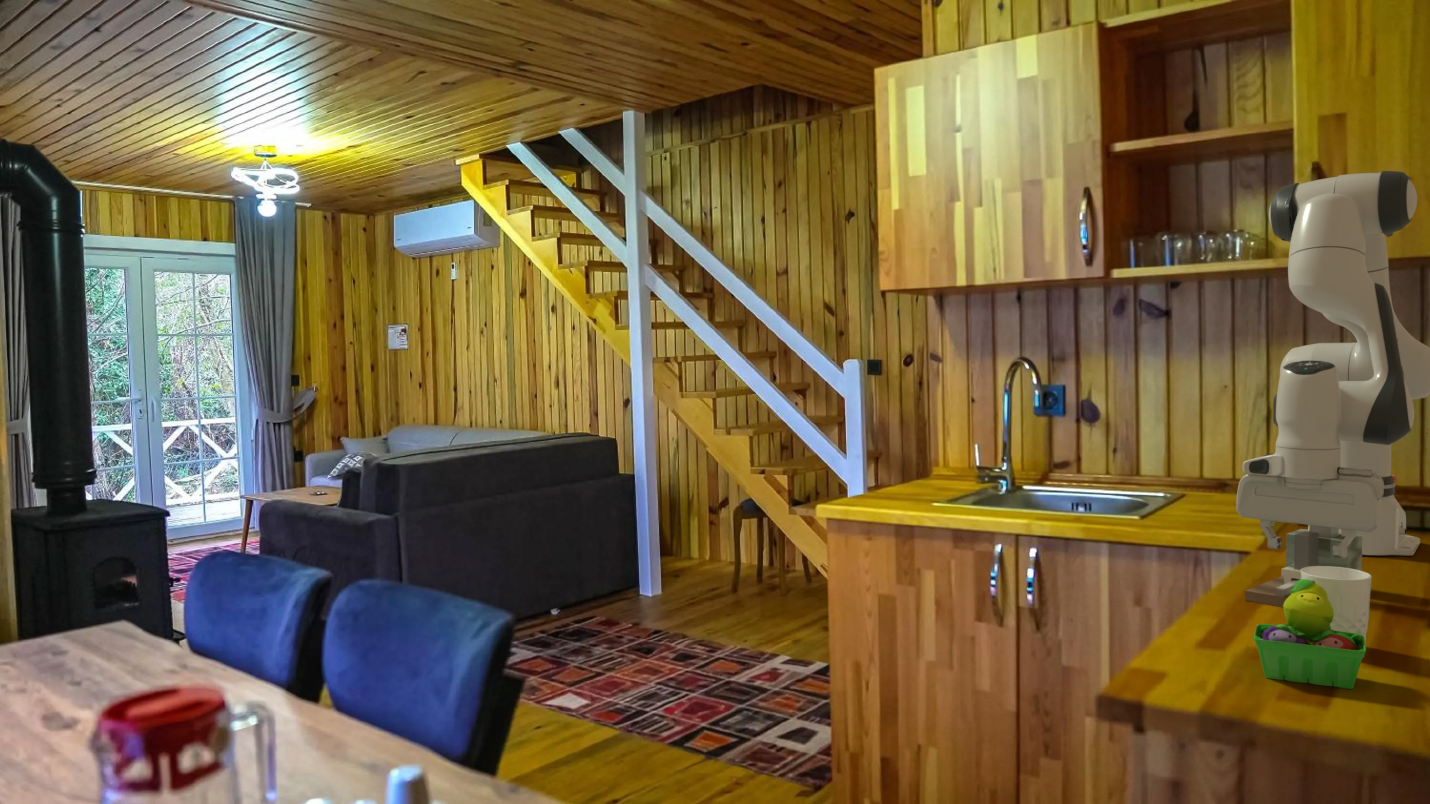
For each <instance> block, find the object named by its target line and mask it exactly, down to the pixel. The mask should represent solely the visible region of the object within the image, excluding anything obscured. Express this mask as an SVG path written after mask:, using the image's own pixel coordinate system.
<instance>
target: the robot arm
mask: <svg viewBox="0 0 1430 804" xmlns="http://www.w3.org/2000/svg"><path fill="white" fill-rule="evenodd" d="M1417 204H1418V193H1417V190H1416V187H1415V185H1414V184H1413V182H1412V179H1411V177H1410V176H1409V175H1407V174H1406V173H1405V172H1403V171H1398V170H1397V171H1396V170H1382V171H1381V172H1366V173H1364V172H1362V173H1361V172H1360V173H1358V172H1357V173H1349V174H1339V175H1338V176H1334V177H1333V176H1332V177H1326V178H1321V179H1317V180H1316V179H1315V180H1310V181H1306V182H1303V183H1299V182H1295V183H1292V184H1287V185H1285V186H1282V187H1280V188H1279V189H1278V190H1277V191H1276V192H1275V193H1274V194H1273V196H1272V198H1271V201H1270V206H1269V208H1268V221H1269V224H1270V226H1271V229H1272V233H1273V234H1274V236H1276V237H1277V238H1279V239H1280V240H1281V241H1284V242H1290V243H1289V248H1288V249H1289V251H1288V260H1287V265H1288V266H1287V276H1288V277H1287V278H1288V287H1289V290H1290V292H1291V293H1292V295H1293V296H1294V297H1295V299H1297V300H1298V301H1299V302H1300V303H1302V304H1303V305H1305V306H1306V307H1308V308H1310V309H1312V310H1314V311H1317V312H1319V313H1321V314H1322V315H1323V317H1325V318H1326V319H1327V321H1329V322H1331V323H1333V324H1335V325H1338V326H1341V327H1344V328H1345V329H1347V330H1348V331H1349V332H1350V333H1352V335H1353V336H1354V338H1355V339H1356V342H1317V343H1312V344H1307V345H1301V346H1297V347H1293V348H1291V349H1290V350H1289V351H1288V352H1287V353H1286V354H1285V356H1284V357H1283V359H1282V361H1281V364H1280V367H1279V379H1278V383H1277V392H1276V394H1275V395H1274V396H1273V404H1272V405H1273V408H1272V412H1273V413H1272V422H1273V424H1274V425H1275V426H1276V427H1277V429H1278V433H1277V437H1276V441H1275V452H1274V453H1272V452H1271V453H1266V454H1263V455H1261V456H1257V457H1255V458H1254V457H1253V458H1250V459H1248V460H1244V461H1243V463H1242V467H1241V468H1242V472H1243V473H1244V474H1245V475H1243V476H1242V477H1240V480H1239V482H1238V486H1237V492H1236V504H1235V505H1236V512H1237V513H1238V515H1239V516H1240V517H1241V518H1245V519H1253V520H1259V527H1260V529H1261V530H1262V532H1263V534H1264V535H1265V536H1266V538H1267V548H1268V549H1274V550H1279V549H1282V547H1283V545H1282V543H1281V542H1282V541H1283V536H1277V534H1276V533H1275V530H1274V529H1273V527H1272V526H1275V523H1276V522H1279V523H1280V522H1281V523H1287V524H1295V525H1304V526H1306V525H1307V526H1308V529H1307V530H1309V525H1313V526H1321V527H1330V528H1339V533H1340V534H1341V536H1345V538H1344V539H1343V541H1342V542H1341V544H1336V545H1334V546H1333V551H1334V552H1333V557H1339V558H1346V557H1347V555H1348V545H1349V544H1350V543H1351V542H1352V540H1353V539H1354V538H1355V536H1356V535H1357V536H1362V556H1414V554H1415V553H1416V551H1417V549H1418V547H1419V545H1420V544H1421V539H1420V537H1417V536H1413V535H1408V534H1407V516H1406V511H1405V510H1404V509H1403V507H1402V506H1401V505H1400V503H1399V502H1398V501H1397V499H1396V497H1395V494H1396V485H1397V481H1398V477H1397V475H1396V474H1392V444H1395V443H1396V442H1398V441H1399V440H1401V439H1402V438H1404V437H1406V435H1408V434H1409V433H1410V432H1411V431H1412V428H1413V425H1414V421H1415V407H1414V402H1413V400H1420V399H1424V398H1427V397H1428V396H1430V347H1429V346H1428V345H1426V344H1424V343H1423V342H1420V341H1419V340H1418V339H1416V338H1415V337H1414V336H1412V335H1411V333H1410V332H1408V331H1407V329H1405V327H1404V326H1403V324H1402V323H1401V322H1400V320H1399V318H1398V317H1397V315H1396V312H1395V310H1394V306H1393V303H1392V302H1393V301H1392V300H1393V299H1392V294H1391V287H1390V272H1389V269H1390V268H1389V256H1388V255H1389V254H1388V246H1387V240H1386V237H1387V238H1390V237H1392V236H1393V235H1394V233H1396V232H1398V231H1401V230H1403V229H1404V228H1405V227H1406V226H1408V225H1409V224H1410V223H1411V221H1412V219H1413V216H1414V215H1415V212H1416V209H1417V206H1418V205H1417Z"/></svg>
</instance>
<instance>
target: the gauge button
mask: <svg viewBox="0 0 1430 804" xmlns="http://www.w3.org/2000/svg"><path fill="white" fill-rule="evenodd" d="M1308 527H1309V532H1316V533H1319V537H1325V538H1335V537H1338V536H1339V528H1330V527H1321V526H1313V525H1308Z"/></svg>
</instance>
